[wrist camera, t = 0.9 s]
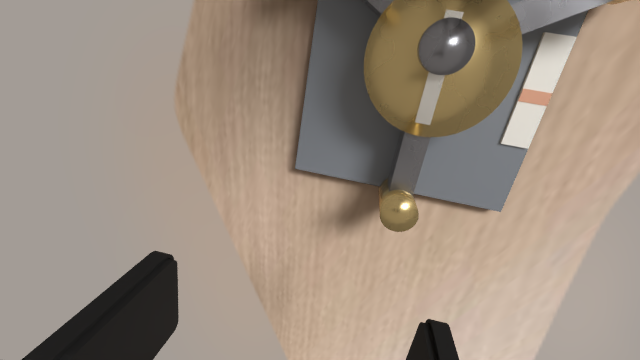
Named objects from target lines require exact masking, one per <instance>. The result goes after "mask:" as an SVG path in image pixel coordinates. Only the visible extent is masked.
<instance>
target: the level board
mask: <svg viewBox="0 0 640 360" xmlns="http://www.w3.org/2000/svg"><path fill="white" fill-rule="evenodd" d="M507 1H508V2H509V3H510V5H512V4H515V3H517V2H520V1H522V0H507ZM587 12H588V10H586V11H584V12H581V13H578V14H576V15H573V16H570V17H568V18H565V19H562V20H559V21H557V22H554V23H551V24H549V25H546V26H543V27H541V28H538V29H535V30H533V31H530V32H527V33H524V34H522V43H523V45H522V58H521V63H520V67H519V71H518V74H517V77H516V79H515V81H514V83H513V86H512V88H511V89H510V91H509V92H508V94H507V96H506V97H505V98H504V100H503V101H502V102H501V104H500V105H499V106H498V107H497V108H496V109H495V110H494V111H493V112H492V113H491V114H490V115H489V116H487V117H486V118H485V119H484V120H482V121H481V122H479V123H478V124H476V125H475V126H473V127H471V128H469V129H467V130H465V131H462V132H459V133H456V134H453V135H448V136H442V137H431V138H430V141H429V144H428V148H427V151H426V154H425V158H424V161H423V164H422V167H421V171H420V174H419V177H418V181H417V184H416V187H415V190H414V194H418V195H423V196H428V197H432V198H437V199H442V200H447V201H451V202H456V203H461V204H466V205H470V206H475V207H480V208H485V209H489V210H494V211H499V212H501V210H502V208H503V206H504V203H505V201H506V199H507V196H508V194H509V192H510V189H511V187H512V185H513V183H514V180H515V178H516V176H517V173H518V171H519V169H520V166H521V164H522V162H523V159H524V157H525V155H526V153H527V150H528V148H529V146H530V143H531V141H532V139H533V137H534V134H535V132H536V130H537V127H538V125H539V123H540V120H541V118H542V116H543V114H544V111H545V109H546V107H547V105H548V103H549V101H550V98H551V96H552V94H553V90H554V88H555V86H556V84H557V81H558V79H559V77H560V74H561V72H562V70H563V67H564V65H565V63H566V61H567V58H568V56H569V54H570V51H571V49H572V47H573V44H574V42H575V40H576V37H577V35H578V33H579V30H580V28H581V26H582V23H583V21H584V19H585V17H586V14H587ZM378 19H379V17H378V16H377V15H376V14H375V13H374V12H372V11H371V10H370V9H369V8H368V7H367V6H366V5H365V4H364V3H363V2H362V1H361V0H318V4H317V11H316V19H315V26H314V33H313V41H312V48H311V55H310V63H309V70H308V77H307V85H306V92H305V99H304V107H303V114H302V121H301V129H300V136H299V143H298V151H297V158H296V165H295V169H299V170H304V171H309V172H313V173H318V174H323V175H328V176H332V177H337V178H342V179H347V180H351V181H356V182H361V183H366V184H370V185H375V186H380V185H381V184H382V182H383V181H384V180H386V179H388V178H389V174H390V170H391V166H392V163H393V159H394V155H395V151H396V147H397V144H398V140H399V136H400V132H401V130H400V129H398V128H396V127H394V126H393V125H392V124H390V123H389V122H388V121H386V120H385V119H384V118H383V117H382V116H381V114H380V113H379V112H378V111H377V109H376V108H375V106H374V105H373V103H372V101H371V99H370V97H369V94H368V92H367V88H366V84H365V79H364V57H365V50H366V46H367V42H368V39H369V37H370V34H371V32H372V30H373V28H374V26H375V24H376V22H377V20H378Z"/></svg>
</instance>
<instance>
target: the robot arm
mask: <svg viewBox="0 0 640 360" xmlns="http://www.w3.org/2000/svg"><path fill="white" fill-rule="evenodd" d="M177 278H178V277H177V262H176V261H175V260H174V258H173V256H172V255H170V254H166V253H162V252H158V251H153V252H152V253H150V254H149V255H148V256H146V257H145V258H144V259H143V260H142V261H140V262H139V263H138V264H137V265H135V266H134V267H133V268H132V269H131V270H129V271H128V272H127V273H126V274H125V275H123V276H122V277H121V278H120V279H119V280H117V281H116V282H115V283H114V284H112V285H111V286H110V287H109V288H108V289H107V290H105V291H104V292H103V293H102V294H100V295H99V296H98V297H97V298H96V299H94V300H93V301H92V302H91V303H90V304H88V305H87V306H86V307H85V308H84V309H82V310H81V311H80V312H79V313H77V314H76V315H75V316H74V317H73V318H72V319H70V320H69V321H68V322H67V323H65V324H64V325H63V326H62V327H60V328H59V329H58V330H57V331H56V332H54V333H53V334H52V335H51V336H50V337H48V338H47V339H46V340H45V341H44V342H42V343H41V344H40V345H39V346H37V347H36V348H35V349H34V350H33V351H31V352H30V353H29V354H28V355H27V356H25V357H24V358H23V359H22V360H153V359H154V357H155V356H156V355H157V353H158V352H159V351H160V349H161V348H162V347H163V345H164V344H165V343H166V341H167V340H168V339H169V337H170V336H171V335H172V333H173V332H174V331H175V329H176V327H177V324H178V279H177ZM406 360H459V358H458V354H457V351H456V347H455V344H454V341H453V337H452V334H451V330H450V327H449V325H448V324H447V323H443V322H439V321H435V320H431V319H428V320H427V321H426V323H422V322H421V323H420V324H419V326H418V329H417V331H416V334H415V337H414V339H413V342H412V345H411V347H410V350H409V353H408V355H407V358H406Z"/></svg>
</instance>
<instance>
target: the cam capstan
mask: <svg viewBox="0 0 640 360" xmlns="http://www.w3.org/2000/svg"><path fill="white" fill-rule="evenodd" d="M361 1H362V2H363V3H364V4H365V5H366V6H367V7H368V8H369V9H370V10H371V11H372V12H374V13H375V14H376V15H377V16H378V17H379V19H378V20H377V22H376V24H375V26H374V28H373V30H372V32H371V34H370V37H369V39H368V42H367V46H366V50H365V57H364V79H365V84H366V88H367V92H368V94H369V97H370V99H371V101H372V103H373V105H374V106H375V108H376V109H377V111H378V112H379V113H380V114H381V116H382V117H383V118H384V119H385V120H386V121H388V122H389V123H390V124H392V125H393V126H394V127H396V128H398V129H400V130H401V132H400V136H399V140H398V144H397V147H396V151H395V155H394V159H393V163H392V166H391V170H390V174H389V178H388V179H386V180H384V181H383V182H382V184H381V185H380V187H379V207H380V219H381V222H382V223H383V225H384V226H385V227H386V228H388V229H390V230H392V231H396V232H402V231H406V230H409V229H410V228H412V227H413V226H414V225H415V224H416V222H417V220H418V209H417V206H416V203H415V200H414V197H413V194H414V190H415V187H416V184H417V181H418V177H419V174H420V171H421V167H422V164H423V161H424V158H425V154H426V151H427V148H428V144H429V141H430V138H431V137H442V136H448V135H453V134H456V133H459V132H462V131H465V130H467V129H469V128H471V127H473V126H475V125H476V124H478V123H479V122H481V121H482V120H484V119H485V118H486V117H487V116H489V115H490V114H491V113H492V112H493V111H494V110H495V109H496V108H497V107H498V106H499V105H500V104H501V102H502V101H503V100H504V98H505V97H506V96H507V94H508V92H509V91H510V89H511V88H512V86H513V83H514V81H515V79H516V77H517V74H518V71H519V67H520V63H521V58H522V45H523V43H522V34H524V33H527V32H530V31H533V30H535V29H538V28H541V27H543V26H546V25H549V24H551V23H554V22H557V21H559V20H562V19H565V18H568V17H570V16H573V15H576V14H578V13H581V12H584V11H586V10H589V9H592V8H594V7H597V6H600V5H603V4H605V3H606V4H617V3H621V2H625V1H629V0H522V1H520V2H517V3H515V4H512V5H510V3H509V2H508V1H507V0H361Z"/></svg>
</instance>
